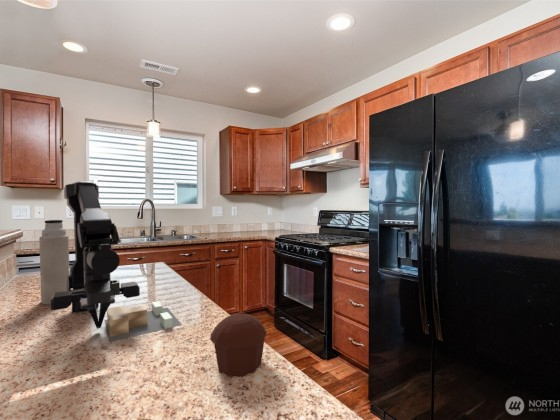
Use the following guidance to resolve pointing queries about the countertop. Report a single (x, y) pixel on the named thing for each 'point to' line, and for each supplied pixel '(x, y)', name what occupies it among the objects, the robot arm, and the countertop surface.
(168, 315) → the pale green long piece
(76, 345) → the countertop surface
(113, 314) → the tee block
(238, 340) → the muffin
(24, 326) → the countertop surface
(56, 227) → the thermos bottle
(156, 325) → the mat
